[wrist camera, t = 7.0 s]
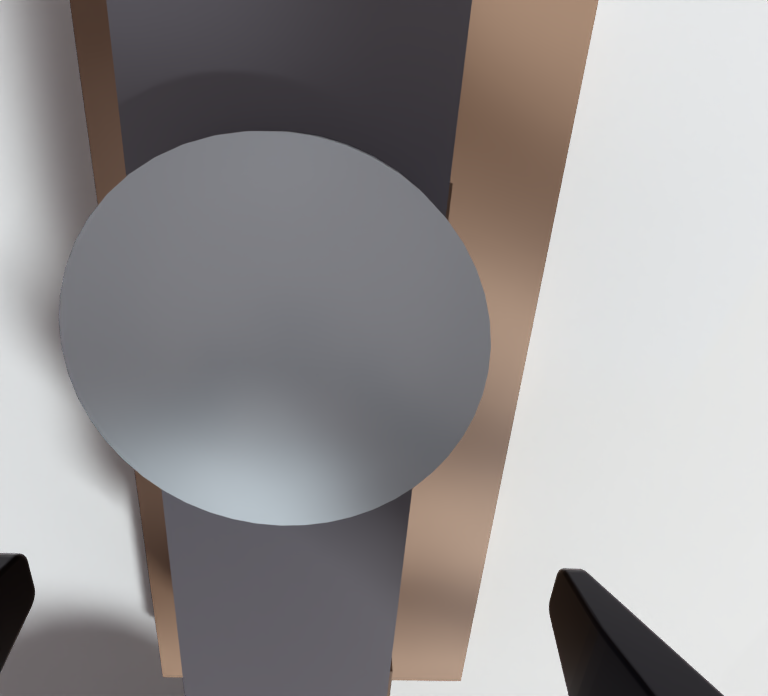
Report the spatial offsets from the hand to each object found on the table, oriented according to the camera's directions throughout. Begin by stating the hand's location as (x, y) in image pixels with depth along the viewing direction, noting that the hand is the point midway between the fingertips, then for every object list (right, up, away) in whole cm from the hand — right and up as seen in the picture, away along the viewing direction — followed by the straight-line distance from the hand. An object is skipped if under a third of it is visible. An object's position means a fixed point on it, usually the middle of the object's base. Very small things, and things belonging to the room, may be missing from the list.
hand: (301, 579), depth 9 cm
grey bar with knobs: (0, +1, +3) cm, 3 cm away
